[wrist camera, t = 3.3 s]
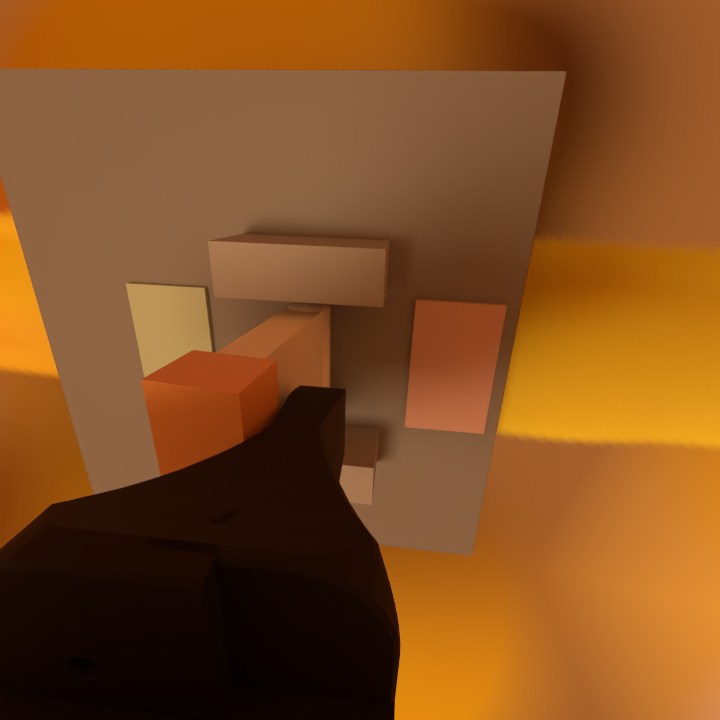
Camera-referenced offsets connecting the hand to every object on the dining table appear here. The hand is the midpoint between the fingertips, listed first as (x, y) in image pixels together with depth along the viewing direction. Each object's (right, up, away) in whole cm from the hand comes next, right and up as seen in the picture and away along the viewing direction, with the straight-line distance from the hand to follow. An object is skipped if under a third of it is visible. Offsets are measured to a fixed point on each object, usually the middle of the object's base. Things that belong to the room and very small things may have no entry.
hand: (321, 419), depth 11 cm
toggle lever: (-1, +1, +3) cm, 3 cm away
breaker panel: (-2, +3, +7) cm, 8 cm away
